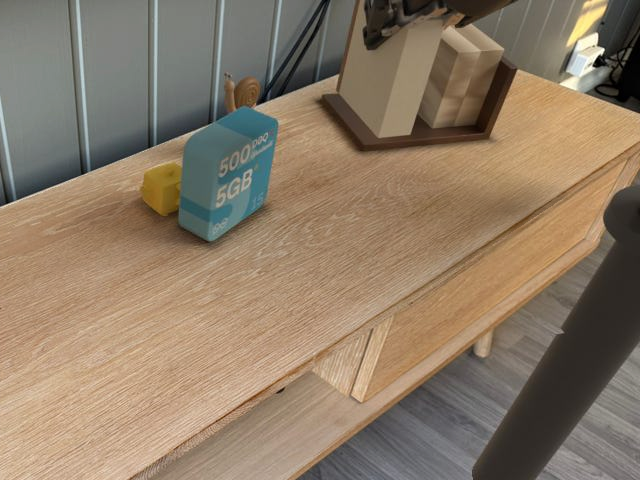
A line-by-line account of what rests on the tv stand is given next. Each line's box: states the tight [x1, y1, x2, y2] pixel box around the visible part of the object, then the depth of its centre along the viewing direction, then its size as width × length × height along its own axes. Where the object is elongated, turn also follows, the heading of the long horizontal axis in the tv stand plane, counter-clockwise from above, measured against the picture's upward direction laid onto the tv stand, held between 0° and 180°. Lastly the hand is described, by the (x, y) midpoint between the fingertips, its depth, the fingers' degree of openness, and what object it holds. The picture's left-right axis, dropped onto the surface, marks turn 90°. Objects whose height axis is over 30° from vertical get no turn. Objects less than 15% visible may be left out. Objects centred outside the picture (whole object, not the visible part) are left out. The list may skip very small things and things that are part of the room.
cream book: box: [335, 0, 445, 138], centre depth 69 cm, size 4×10×11 cm, turn 14°
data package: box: [177, 106, 279, 243], centre depth 82 cm, size 12×4×12 cm, turn 139°
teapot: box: [138, 161, 182, 217], centre depth 85 cm, size 8×6×5 cm
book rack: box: [320, 23, 519, 152], centre depth 101 cm, size 20×15×12 cm
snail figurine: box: [223, 71, 261, 115], centre depth 93 cm, size 5×6×12 cm
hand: (388, 38), depth 68 cm, fingers closed on cream book, 3 cm apart
